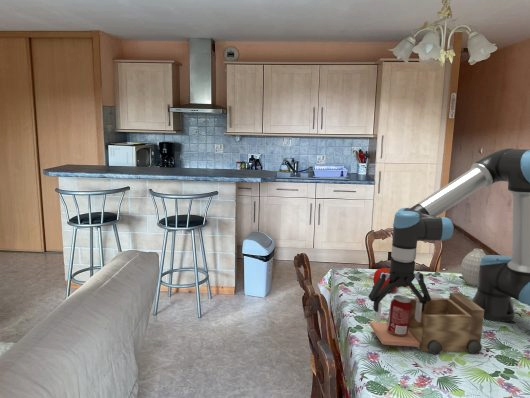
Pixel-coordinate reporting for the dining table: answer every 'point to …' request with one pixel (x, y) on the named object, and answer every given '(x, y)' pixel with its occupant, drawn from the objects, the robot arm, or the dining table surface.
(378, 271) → the tomato
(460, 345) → the truck
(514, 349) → the dining table surface
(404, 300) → the soda can
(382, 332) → the cabinet door
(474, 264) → the vase
